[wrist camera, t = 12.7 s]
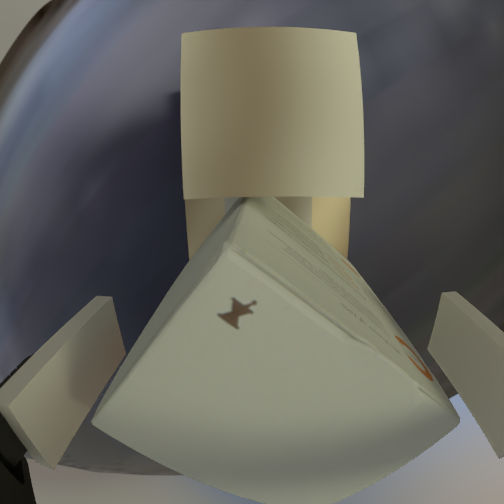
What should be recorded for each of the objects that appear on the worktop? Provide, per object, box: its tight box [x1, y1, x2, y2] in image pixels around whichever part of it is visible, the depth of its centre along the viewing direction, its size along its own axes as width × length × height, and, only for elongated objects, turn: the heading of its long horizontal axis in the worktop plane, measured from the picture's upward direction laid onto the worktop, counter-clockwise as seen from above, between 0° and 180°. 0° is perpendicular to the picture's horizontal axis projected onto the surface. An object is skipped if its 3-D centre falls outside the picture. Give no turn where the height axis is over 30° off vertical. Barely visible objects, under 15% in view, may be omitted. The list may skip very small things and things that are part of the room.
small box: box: [91, 197, 460, 504], centre depth 12 cm, size 8×6×13 cm
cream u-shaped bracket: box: [181, 27, 364, 260], centre depth 14 cm, size 10×22×11 cm, turn 1°
